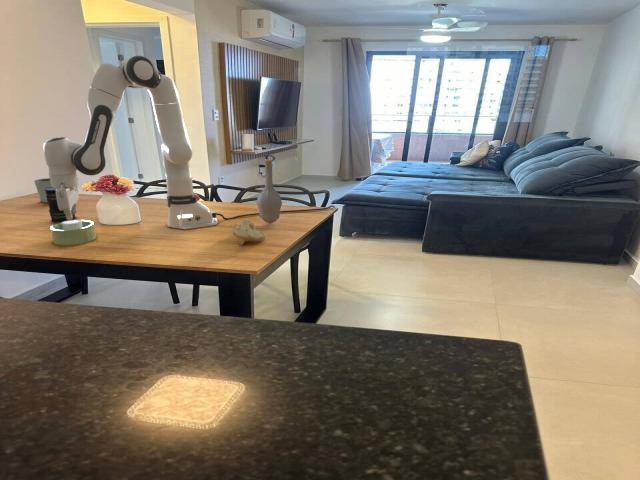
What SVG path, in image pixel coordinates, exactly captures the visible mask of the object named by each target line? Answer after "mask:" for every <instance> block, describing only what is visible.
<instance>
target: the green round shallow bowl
mask: <svg viewBox="0 0 640 480" xmlns="http://www.w3.org/2000/svg"><path fill="white" fill-rule="evenodd" d="M80 220H81V221H82V228H80V229H73V230H63V227H62V224H61V223H62V222H57V223H56V224H53V225H51V226H50V227H49V230H50V233H51V234H50V235H51V239H52V242H53V244H54V245H56V246H62V247H63V246H65V247H66V246H76V245H83V244H86V243H89V242H92V241H94V240H95V239H96V238H97V234H96V227H95V222H94V221H91V220H85V219H80Z"/></svg>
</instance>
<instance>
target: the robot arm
mask: <svg viewBox="0 0 640 480" xmlns="http://www.w3.org/2000/svg"><path fill="white" fill-rule="evenodd" d="M127 88H132V89H146V90H147V92H148V93H149V96H150V100H151V104H152V109H153V113H154V118H155V122H156V127H157V129H158V132H159V135H160V139H161V146H160V150H161V157H162V164H163V170H164V175H165V184H166V192H167V194H166V205H167V207H168V216H167V223H166V225H167V227H169V228H172V229H180V230H191V229H197V228H206V227H213V226H216V225H218V224H219V222H218V219H217V216H220V217H222V219H223V220H233V219H234V220H235V219H237V218H243V217H249V216H256V215H257V216H258V215H260V214H259V212H255V213H247V214H240V215H236V216H233V217H229V218H228V217H225V216H224V214H221V213H217V212H216V211H214V210H211V209H210V207H208V206H207V205H205V204H204V203H202V202H201V201H200V200H201V197H200V195H198V194H197V193H194V184H193V176H192V172H191V171H192V170H191V166H190V161H191V159H192V158H193V149H192V145H191V141H190V137H189V134H188V133H189V132H188V130H187V126H186V124H185V120H184V114H183V109H182V105H181V100H180V95H179V92H178V89H177V87H176V83H175V81H174V80H173V78H172V77H170V76H168V75H165V74H162V73H161V72H160V71H159V70H158V68H157V67H156V65H155V64H154V63H153V62H152V60H151V59H149V58H148V57H146V56H144V55H143V56H142V55H134V56H132V57H129V58H127V59H126V60H125V61H124V62H123V63H121V64H120V65H119V66H117V65H116V64H112V63H102V64H100V65H99V66H98V68H97V70H96V71H95V73H94V76H93V77H92V80H91V83H90V86H89V89H88V92H87V103H86V105H87V109H88V112H89V119H90V120H89V126H88V129H87V132H86V137H85V141H84V144H83V143H79V142H76V141H74V140H71V139H69V138H68V137H65V136H60V137H53V138H49V139H47V140H46V141H45V142H44V143H43V155H44V160H45V163H46V166H47V167H48V178H50V181H51V186H52V187H53V188H56V198H57V204H58V208H59V210H64V213H65V215H66V218H67V220H71V219H72V218H73V217H72V214H74V213H75V214H77V213H78V210H77V202H78V200H79V199H80V198H79V197H80V195H79V194H80V193H79V184H80V183H79V177H78V173H77V171H78V172H79V173H81V174H83V175H85V176H96V175H99V174H100V173H102V172H103V171H104V169H105V167H106V162H107V161H106V156H105V147H106V142H107V139H108V134H109V131H110V128H111V125H112V123H113V121H114V119H115V117H116V116H117V113H118V111H119V109H120V106H121V104H122V101H123V98H124V93H125V91H126V90H127ZM330 208H333V209H336V206H335V205H329V206H327V207H323V208H311V209H310V208H308V209H294V210H293V209H292V210H280V214H281V213H282V214H283V213H296V212H297V213H299V212H310V211H313V212H314V211H323V210H328V209H330ZM71 213H72V214H71Z"/></svg>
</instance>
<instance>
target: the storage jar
mask: <svg viewBox="0 0 640 480" xmlns="http://www.w3.org/2000/svg"><path fill="white" fill-rule="evenodd" d="M45 191H46V197H47V201H48V202H47V203H48V207H49V209H48V212H49V216H50V220H51V222H52V223H62V222H64V221H67V218H66V215H65V213H64V210H59V208H58V204H57V198H56V188H53V187H50V188H46V189H45ZM71 214H72V213H71ZM72 217H73V218H72V219H71V220H77V218H76V213H74V214H72Z"/></svg>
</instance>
